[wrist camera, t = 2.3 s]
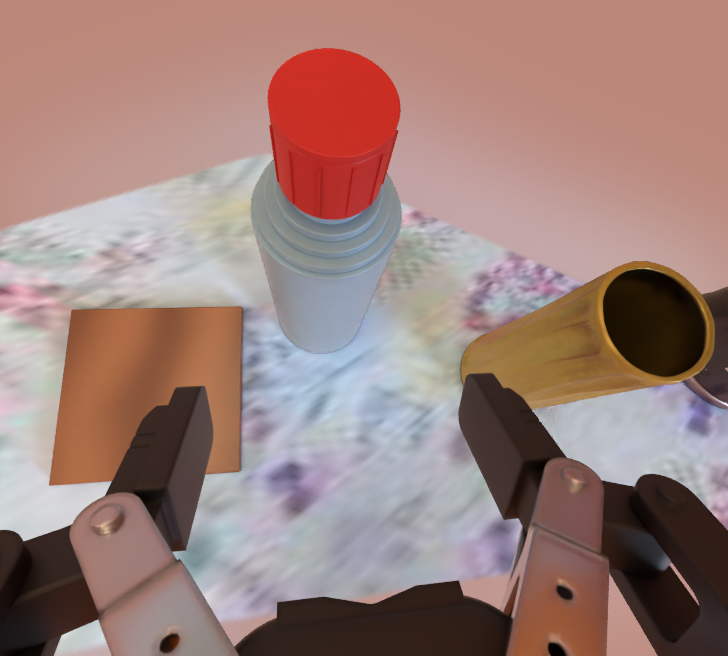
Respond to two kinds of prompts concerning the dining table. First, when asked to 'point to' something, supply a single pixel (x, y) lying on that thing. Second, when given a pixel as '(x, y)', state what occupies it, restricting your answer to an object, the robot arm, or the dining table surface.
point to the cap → (332, 131)
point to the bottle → (322, 262)
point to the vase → (601, 339)
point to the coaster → (144, 383)
